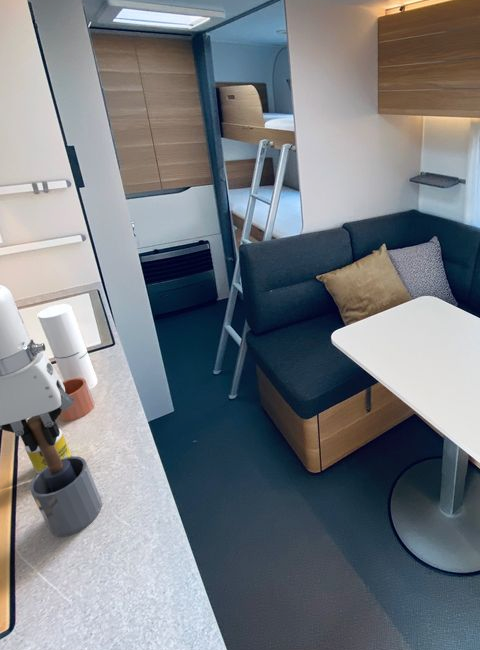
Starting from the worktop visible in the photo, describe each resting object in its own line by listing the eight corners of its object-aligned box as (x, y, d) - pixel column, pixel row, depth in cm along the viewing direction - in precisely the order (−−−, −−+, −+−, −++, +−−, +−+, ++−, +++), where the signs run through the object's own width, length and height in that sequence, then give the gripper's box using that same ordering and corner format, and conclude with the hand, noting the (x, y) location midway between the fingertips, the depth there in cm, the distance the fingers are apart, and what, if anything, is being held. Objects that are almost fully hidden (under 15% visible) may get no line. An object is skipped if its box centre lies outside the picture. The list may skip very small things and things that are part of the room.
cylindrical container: (64, 389, 116) (33, 312, 106) (91, 375, 121) (64, 301, 111) (74, 399, 112) (43, 320, 102) (102, 384, 117) (75, 308, 108)
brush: (52, 504, 76) (16, 430, 69) (56, 487, 79) (22, 415, 72) (78, 494, 78) (45, 422, 71) (80, 478, 81) (50, 407, 74)
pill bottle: (41, 484, 88) (21, 444, 83) (34, 467, 92) (15, 428, 87) (76, 465, 92) (59, 425, 88) (68, 449, 96) (52, 411, 92)
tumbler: (45, 545, 76) (24, 504, 72) (54, 506, 83) (36, 467, 79) (99, 523, 79) (82, 484, 75) (104, 488, 86) (88, 449, 82)
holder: (57, 426, 103) (47, 401, 100) (63, 407, 109) (53, 383, 106) (93, 416, 106) (83, 391, 103) (96, 398, 112) (87, 374, 109)
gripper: (68, 334, 73) (98, 413, 80) (-49, 361, 66) (-5, 445, 74) (60, 356, 67) (94, 440, 74) (-70, 388, 60) (-19, 477, 67)
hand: (44, 442), depth 74 cm, fingers closed on brush, 2 cm apart
